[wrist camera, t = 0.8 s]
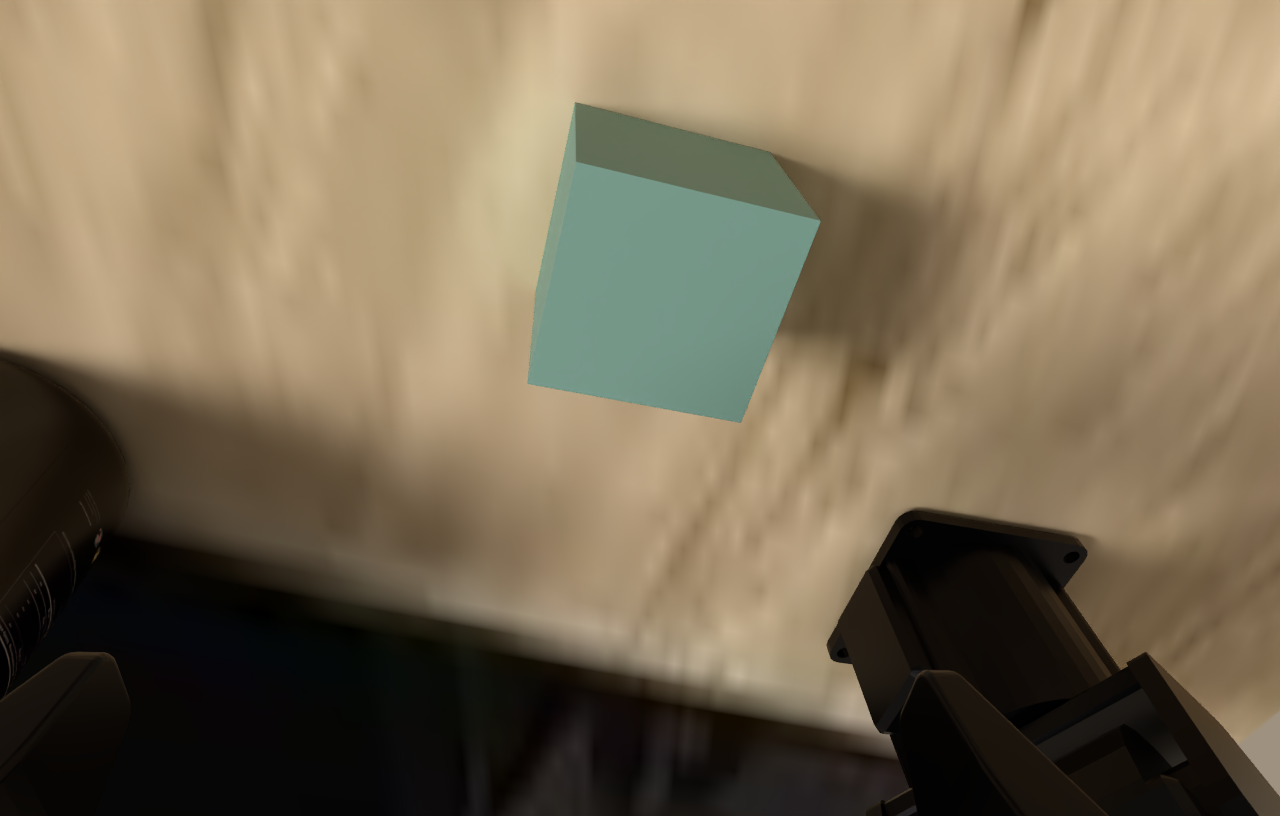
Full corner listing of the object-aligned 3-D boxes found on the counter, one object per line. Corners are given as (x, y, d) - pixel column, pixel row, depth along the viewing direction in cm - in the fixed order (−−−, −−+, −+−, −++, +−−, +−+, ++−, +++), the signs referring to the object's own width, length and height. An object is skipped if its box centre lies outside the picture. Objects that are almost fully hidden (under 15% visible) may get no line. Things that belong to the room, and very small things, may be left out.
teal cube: (769, 151, 18) (820, 220, 14) (709, 324, 20) (740, 422, 17) (575, 101, 17) (576, 162, 13) (536, 287, 20) (527, 383, 16)
